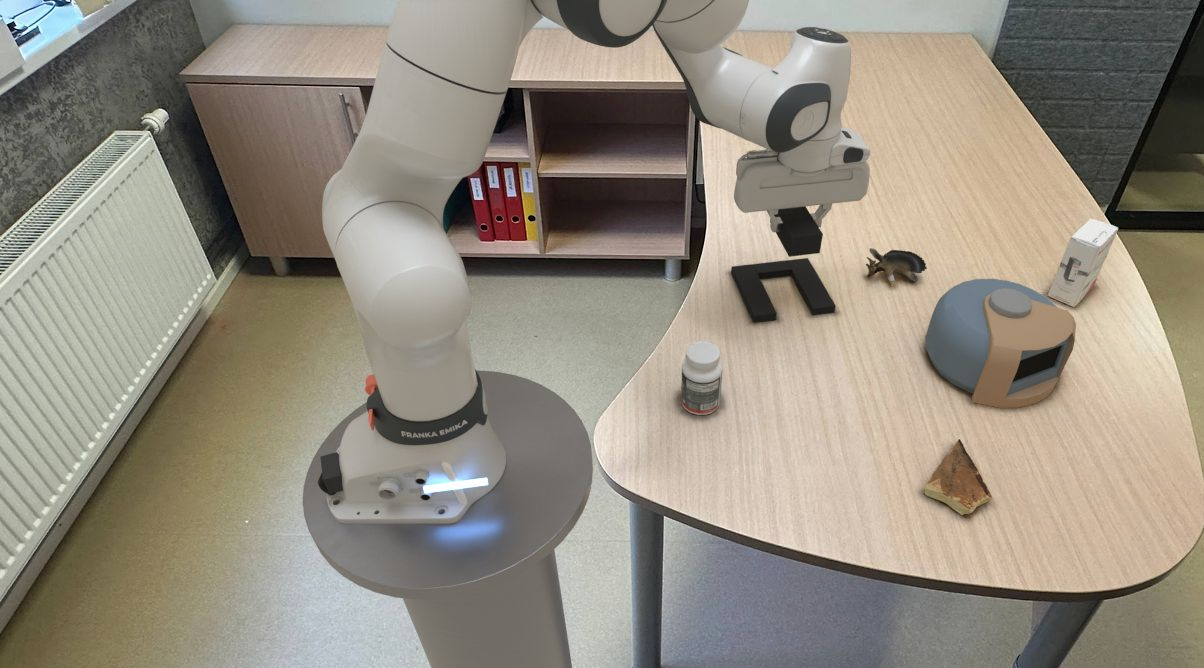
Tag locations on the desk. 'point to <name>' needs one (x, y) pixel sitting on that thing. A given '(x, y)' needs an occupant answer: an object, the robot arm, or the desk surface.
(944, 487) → the shard
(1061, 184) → the desk surface
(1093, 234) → the ink box
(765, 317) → the base pad
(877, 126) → the desk surface
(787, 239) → the small black block
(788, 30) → the desk surface
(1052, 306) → the alarm clock
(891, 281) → the toy dinosaur figure
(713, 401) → the pill bottle
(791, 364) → the desk surface
